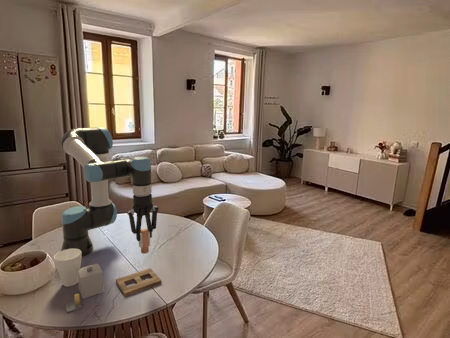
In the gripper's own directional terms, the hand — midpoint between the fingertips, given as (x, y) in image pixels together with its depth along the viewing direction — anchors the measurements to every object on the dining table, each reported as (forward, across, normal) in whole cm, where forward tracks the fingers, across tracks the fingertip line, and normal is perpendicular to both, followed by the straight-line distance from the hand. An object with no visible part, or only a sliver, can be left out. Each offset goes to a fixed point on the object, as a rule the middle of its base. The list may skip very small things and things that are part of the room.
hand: (144, 245), depth 126 cm
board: (+17, -3, 0) cm, 17 cm away
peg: (+3, 0, 0) cm, 3 cm away
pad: (+17, -29, -1) cm, 34 cm away
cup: (+17, -27, +17) cm, 36 cm away
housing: (+17, -21, +6) cm, 28 cm away
